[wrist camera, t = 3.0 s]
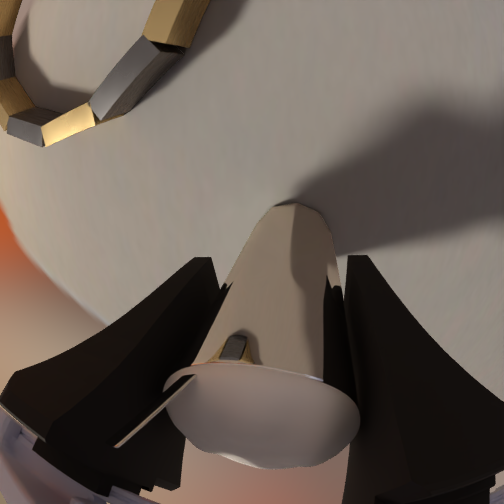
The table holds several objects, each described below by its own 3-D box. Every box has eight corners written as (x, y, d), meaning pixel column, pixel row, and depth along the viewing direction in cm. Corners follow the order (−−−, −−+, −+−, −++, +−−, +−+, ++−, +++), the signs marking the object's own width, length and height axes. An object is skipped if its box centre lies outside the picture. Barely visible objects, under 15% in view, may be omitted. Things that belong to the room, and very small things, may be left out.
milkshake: (300, 149, 10) (228, 476, 2) (361, 254, 12) (376, 504, 4) (209, 204, 12) (67, 426, 4) (277, 289, 14) (227, 498, 6)
